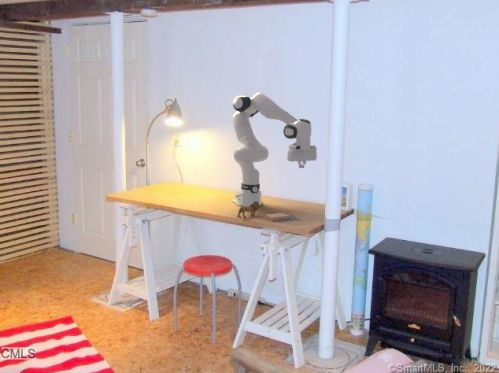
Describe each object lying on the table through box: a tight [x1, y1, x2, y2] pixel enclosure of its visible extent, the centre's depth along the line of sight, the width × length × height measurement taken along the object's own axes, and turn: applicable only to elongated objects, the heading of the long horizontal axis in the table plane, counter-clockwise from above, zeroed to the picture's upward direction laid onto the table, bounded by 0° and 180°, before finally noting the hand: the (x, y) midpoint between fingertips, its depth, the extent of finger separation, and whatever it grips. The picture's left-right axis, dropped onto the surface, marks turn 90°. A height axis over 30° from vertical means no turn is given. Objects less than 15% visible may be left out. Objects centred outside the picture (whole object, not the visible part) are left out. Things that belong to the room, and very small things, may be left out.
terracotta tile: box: [264, 212, 290, 222], centre depth 324 cm, size 8×2×12 cm
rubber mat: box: [276, 213, 303, 224], centre depth 326 cm, size 18×16×1 cm
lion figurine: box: [236, 201, 260, 218], centre depth 329 cm, size 15×5×9 cm, turn 118°
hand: (301, 167), depth 340 cm, fingers closed
